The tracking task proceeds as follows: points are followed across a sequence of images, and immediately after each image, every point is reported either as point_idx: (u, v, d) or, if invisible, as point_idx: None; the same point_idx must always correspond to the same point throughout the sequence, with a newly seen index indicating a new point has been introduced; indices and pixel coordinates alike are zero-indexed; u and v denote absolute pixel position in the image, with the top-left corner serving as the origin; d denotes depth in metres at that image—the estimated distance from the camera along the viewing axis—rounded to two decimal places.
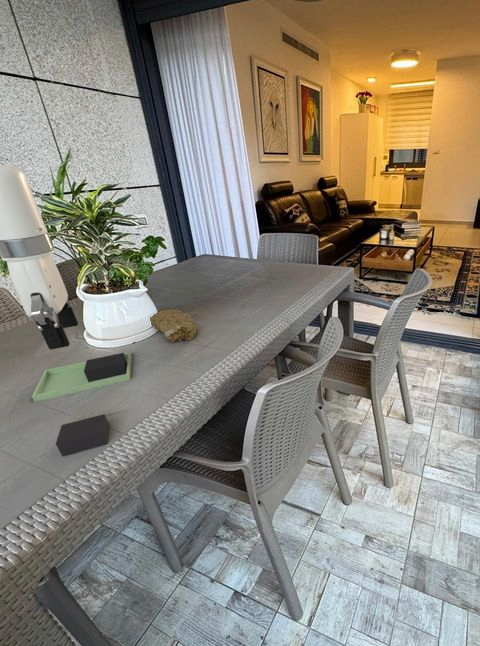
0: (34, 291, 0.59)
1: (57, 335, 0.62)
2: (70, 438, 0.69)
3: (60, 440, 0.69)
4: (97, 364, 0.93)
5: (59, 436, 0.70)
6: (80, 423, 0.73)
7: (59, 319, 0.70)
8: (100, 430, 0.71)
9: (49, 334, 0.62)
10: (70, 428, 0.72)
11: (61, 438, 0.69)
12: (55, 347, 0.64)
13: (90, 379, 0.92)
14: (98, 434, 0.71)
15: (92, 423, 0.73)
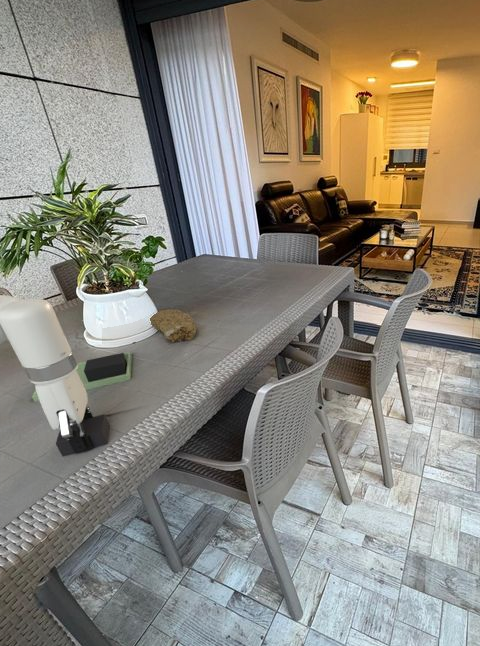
0: (59, 409, 0.63)
1: (82, 442, 0.68)
2: None
3: (60, 440, 0.69)
4: (97, 364, 0.93)
5: (59, 436, 0.70)
6: None
7: None
8: (100, 430, 0.71)
9: (76, 442, 0.68)
10: None
11: (61, 438, 0.69)
12: (80, 451, 0.70)
13: (90, 379, 0.92)
14: (98, 434, 0.71)
15: (92, 423, 0.73)
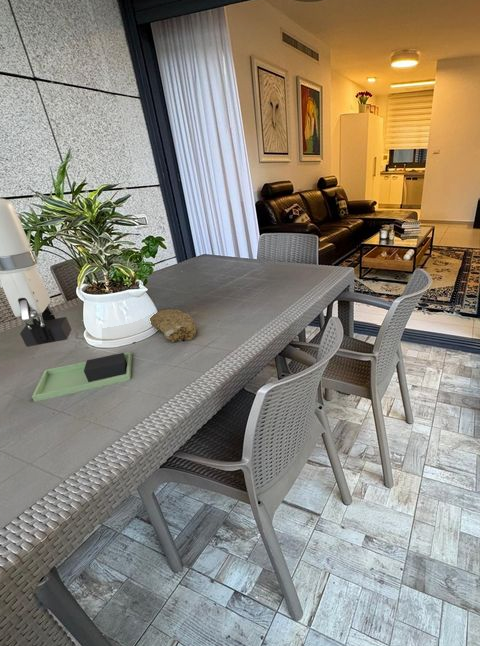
0: (20, 297, 0.74)
1: (43, 332, 0.79)
2: None
3: (24, 331, 0.79)
4: (97, 364, 0.93)
5: (24, 329, 0.80)
6: (44, 322, 0.83)
7: None
8: (60, 325, 0.81)
9: (37, 332, 0.78)
10: None
11: (25, 330, 0.80)
12: (41, 342, 0.80)
13: (90, 379, 0.92)
14: (58, 328, 0.81)
15: (54, 322, 0.83)
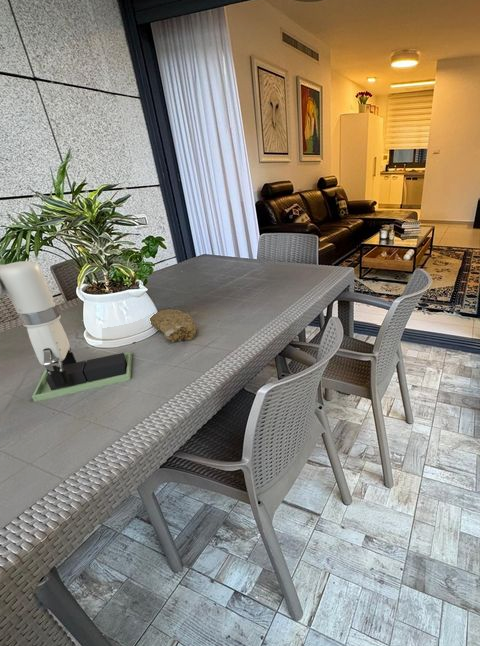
0: (46, 347, 0.82)
1: (62, 377, 0.86)
2: None
3: (49, 377, 0.88)
4: (97, 364, 0.93)
5: (48, 374, 0.89)
6: (66, 366, 0.92)
7: (63, 361, 0.94)
8: (81, 370, 0.90)
9: (56, 376, 0.85)
10: None
11: None
12: (60, 385, 0.87)
13: (90, 379, 0.92)
14: (79, 373, 0.90)
15: (75, 366, 0.92)
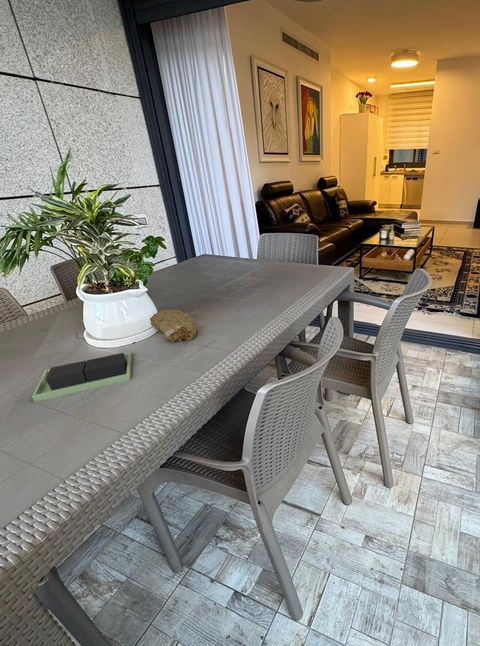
0: None
1: None
2: (57, 375, 0.88)
3: (49, 377, 0.88)
4: (97, 364, 0.93)
5: (48, 374, 0.89)
6: (66, 366, 0.92)
7: None
8: (81, 370, 0.90)
9: None
10: (57, 369, 0.91)
11: (50, 375, 0.88)
12: None
13: (90, 379, 0.92)
14: (79, 373, 0.90)
15: (75, 366, 0.92)
